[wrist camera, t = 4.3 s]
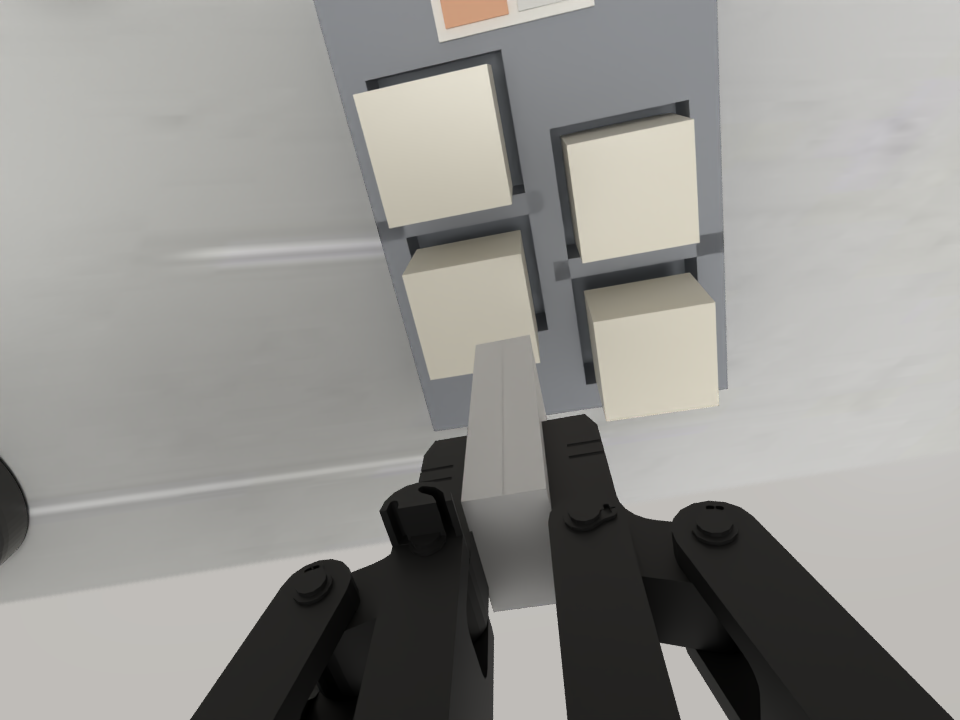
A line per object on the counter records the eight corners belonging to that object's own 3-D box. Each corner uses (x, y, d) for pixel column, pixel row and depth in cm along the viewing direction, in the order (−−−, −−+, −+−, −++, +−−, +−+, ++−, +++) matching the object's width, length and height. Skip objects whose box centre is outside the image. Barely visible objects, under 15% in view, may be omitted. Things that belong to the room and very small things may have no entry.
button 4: (406, 207, 27) (389, 228, 24) (376, 91, 25) (352, 94, 22) (512, 186, 27) (511, 204, 23) (491, 64, 24) (486, 63, 21)
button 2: (440, 343, 30) (430, 380, 27) (416, 249, 28) (402, 275, 24) (537, 327, 30) (540, 362, 26) (520, 229, 27) (520, 253, 24)
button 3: (574, 240, 29) (582, 263, 26) (560, 135, 27) (566, 145, 24) (676, 221, 29) (699, 242, 25) (670, 112, 27) (694, 118, 23)
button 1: (595, 380, 31) (606, 421, 27) (583, 290, 29) (593, 322, 25) (694, 365, 30) (718, 405, 26) (689, 272, 28) (715, 302, 24)
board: (442, 396, 37) (432, 438, 33) (314, -84, 26) (276, -114, 22) (705, 355, 35) (731, 395, 30) (681, -186, 24) (716, -241, 20)
